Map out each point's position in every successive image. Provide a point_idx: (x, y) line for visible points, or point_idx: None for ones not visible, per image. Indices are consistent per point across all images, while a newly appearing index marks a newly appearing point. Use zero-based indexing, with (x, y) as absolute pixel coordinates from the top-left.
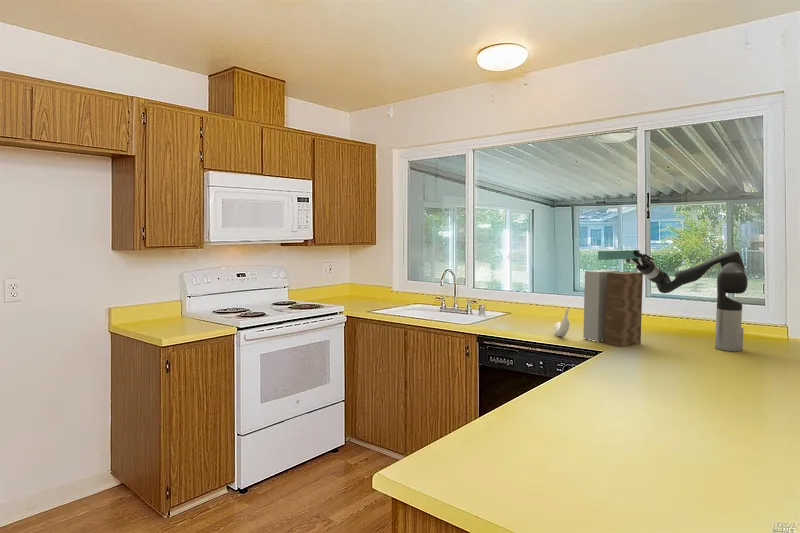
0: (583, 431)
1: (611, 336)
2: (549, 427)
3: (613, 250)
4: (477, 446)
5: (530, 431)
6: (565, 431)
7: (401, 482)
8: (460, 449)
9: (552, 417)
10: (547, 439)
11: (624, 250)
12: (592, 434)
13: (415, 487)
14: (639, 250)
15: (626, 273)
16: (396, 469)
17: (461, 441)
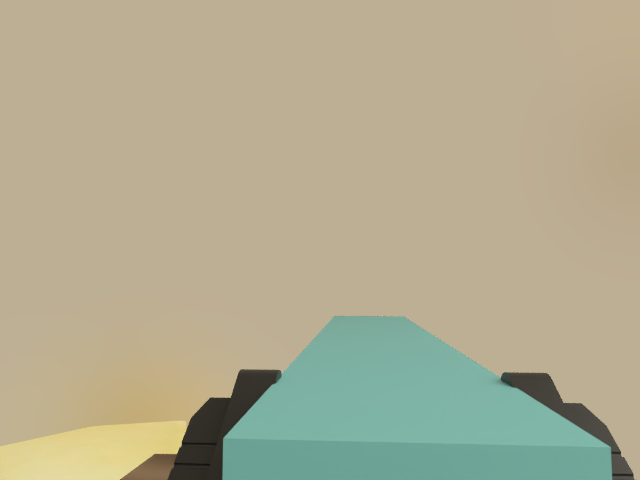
0: (80, 474)
1: None
2: (116, 467)
3: (419, 331)
4: (155, 441)
5: (129, 460)
6: (98, 469)
7: (168, 421)
8: (164, 437)
9: (123, 476)
10: (108, 459)
11: (315, 338)
12: (69, 474)
13: (157, 422)
14: (224, 458)
15: (144, 474)
16: (182, 423)
17: (172, 440)
